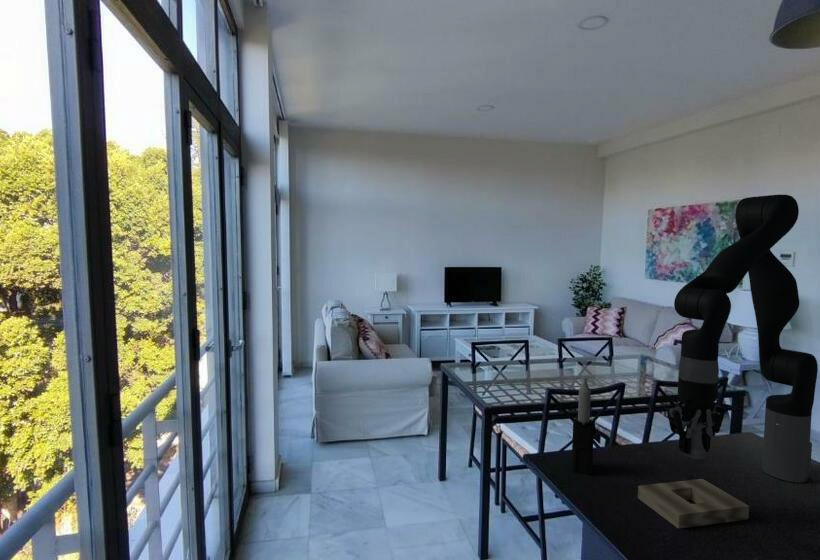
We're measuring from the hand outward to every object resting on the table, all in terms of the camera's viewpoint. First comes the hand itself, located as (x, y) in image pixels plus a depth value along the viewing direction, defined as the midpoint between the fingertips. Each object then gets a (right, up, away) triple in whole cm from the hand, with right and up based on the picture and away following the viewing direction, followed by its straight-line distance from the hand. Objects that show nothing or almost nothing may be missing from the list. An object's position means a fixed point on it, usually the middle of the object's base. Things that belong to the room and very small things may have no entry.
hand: (694, 451), depth 100 cm
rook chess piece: (0, -1, 0) cm, 1 cm away
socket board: (0, -13, +1) cm, 13 cm away
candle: (-18, -12, +18) cm, 29 cm away
